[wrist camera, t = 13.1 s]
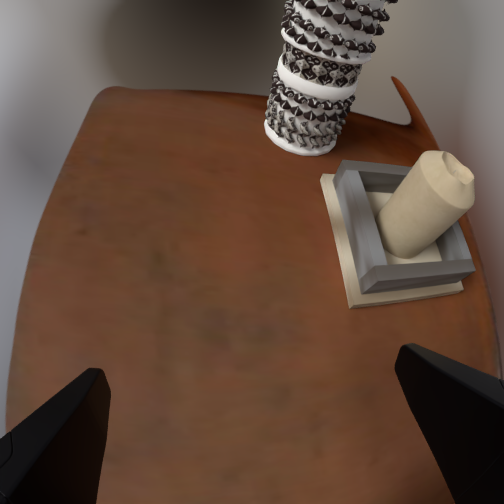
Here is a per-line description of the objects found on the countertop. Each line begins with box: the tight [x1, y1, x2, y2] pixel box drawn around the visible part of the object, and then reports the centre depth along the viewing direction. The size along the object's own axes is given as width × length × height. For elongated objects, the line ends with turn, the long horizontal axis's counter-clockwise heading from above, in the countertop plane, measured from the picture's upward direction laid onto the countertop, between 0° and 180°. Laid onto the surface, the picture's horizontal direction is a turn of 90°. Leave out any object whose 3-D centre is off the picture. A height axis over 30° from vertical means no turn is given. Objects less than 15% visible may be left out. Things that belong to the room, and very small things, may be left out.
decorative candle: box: [264, 0, 398, 156], centre depth 21 cm, size 9×9×25 cm
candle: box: [375, 151, 475, 259], centre depth 22 cm, size 6×6×10 cm
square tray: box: [320, 160, 476, 309], centre depth 25 cm, size 13×13×4 cm
